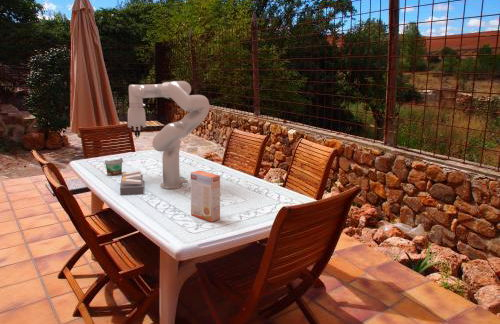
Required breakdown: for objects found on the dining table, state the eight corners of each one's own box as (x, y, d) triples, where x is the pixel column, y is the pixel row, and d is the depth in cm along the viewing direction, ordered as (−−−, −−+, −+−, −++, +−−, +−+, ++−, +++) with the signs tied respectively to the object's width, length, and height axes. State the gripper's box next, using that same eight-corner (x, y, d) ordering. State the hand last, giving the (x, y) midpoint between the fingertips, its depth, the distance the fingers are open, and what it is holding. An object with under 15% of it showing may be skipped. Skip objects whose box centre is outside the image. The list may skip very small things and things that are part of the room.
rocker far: (140, 172, 238) (140, 169, 238) (140, 174, 234) (140, 171, 234) (123, 175, 236) (123, 173, 236) (123, 177, 232) (122, 174, 232)
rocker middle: (140, 176, 230) (140, 173, 229) (141, 177, 226) (140, 175, 226) (123, 179, 227) (122, 176, 227) (123, 181, 224) (122, 178, 223)
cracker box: (220, 219, 181) (220, 175, 176) (211, 222, 176) (210, 177, 172) (200, 212, 190) (200, 169, 185) (190, 215, 185) (190, 171, 181)
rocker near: (140, 182, 222) (141, 179, 221) (140, 184, 218) (141, 181, 218) (122, 181, 219) (122, 178, 218) (121, 182, 215) (122, 180, 215)
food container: (111, 177, 249) (110, 161, 246) (105, 175, 252) (104, 160, 250) (127, 173, 258) (126, 158, 256) (121, 172, 262) (121, 157, 260)
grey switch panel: (142, 179, 246) (142, 172, 245) (143, 193, 216) (143, 186, 215) (122, 180, 243) (122, 173, 242) (120, 195, 213) (120, 188, 212)
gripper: (149, 105, 238) (150, 135, 242) (122, 105, 234) (124, 136, 238) (149, 106, 231) (150, 137, 235) (122, 106, 227) (124, 138, 231)
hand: (137, 136), depth 236 cm, fingers closed
